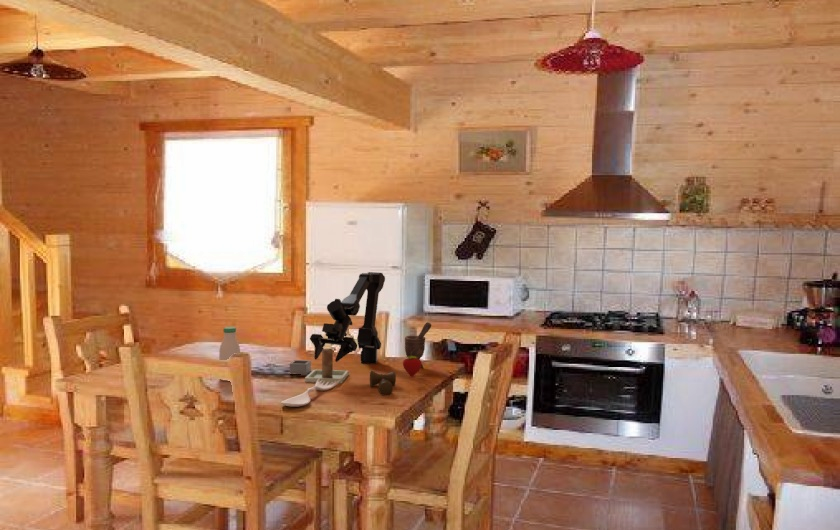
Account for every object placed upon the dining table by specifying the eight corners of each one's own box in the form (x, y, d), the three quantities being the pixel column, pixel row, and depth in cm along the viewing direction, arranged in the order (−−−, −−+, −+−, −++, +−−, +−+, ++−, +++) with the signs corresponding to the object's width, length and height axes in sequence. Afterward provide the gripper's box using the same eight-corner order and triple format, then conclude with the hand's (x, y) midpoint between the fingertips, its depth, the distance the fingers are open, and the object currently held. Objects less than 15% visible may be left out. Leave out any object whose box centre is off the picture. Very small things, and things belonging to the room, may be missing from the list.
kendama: (372, 397, 230) (368, 381, 249) (399, 397, 231) (393, 382, 251) (372, 380, 229) (369, 366, 249) (399, 381, 231) (394, 366, 250)
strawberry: (420, 379, 255) (421, 353, 254) (401, 378, 256) (402, 353, 255) (422, 375, 261) (422, 350, 260) (403, 374, 262) (403, 350, 261)
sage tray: (348, 376, 258) (348, 370, 258) (341, 385, 244) (341, 379, 244) (313, 374, 259) (314, 369, 259) (304, 383, 245) (304, 377, 245)
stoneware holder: (310, 372, 263) (311, 360, 262) (306, 376, 256) (306, 364, 256) (294, 372, 263) (294, 360, 263) (289, 376, 256) (289, 363, 256)
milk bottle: (241, 380, 248) (241, 328, 247) (220, 382, 245) (220, 329, 244) (239, 376, 255) (239, 325, 254) (218, 377, 252) (218, 326, 251)
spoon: (340, 388, 240) (340, 379, 240) (300, 412, 210) (300, 401, 209) (318, 386, 243) (318, 377, 243) (275, 409, 212) (275, 399, 212)
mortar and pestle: (433, 366, 277) (434, 320, 276) (429, 371, 269) (430, 323, 267) (406, 365, 279) (407, 319, 278) (402, 369, 271) (403, 321, 270)
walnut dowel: (331, 376, 254) (331, 348, 253) (333, 378, 250) (333, 350, 249) (321, 376, 253) (321, 348, 252) (323, 379, 249) (323, 350, 248)
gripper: (312, 313, 257) (296, 345, 248) (354, 316, 250) (339, 350, 240) (322, 330, 265) (307, 362, 256) (363, 334, 258) (349, 367, 248)
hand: (325, 360), depth 250 cm, fingers open, 9 cm apart
